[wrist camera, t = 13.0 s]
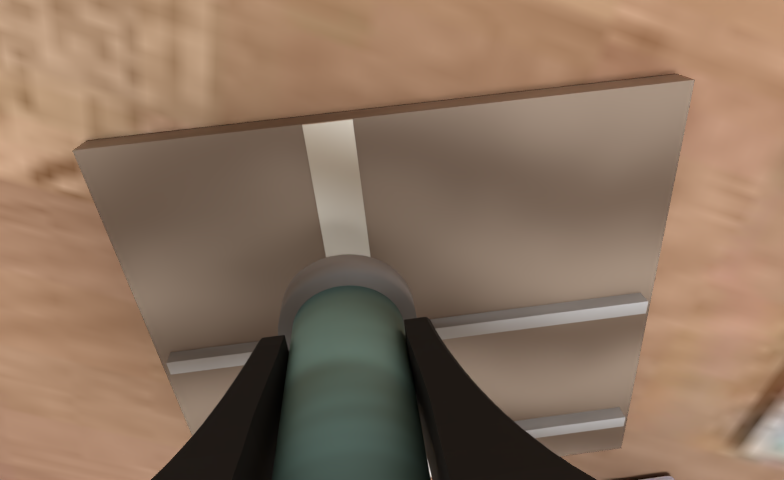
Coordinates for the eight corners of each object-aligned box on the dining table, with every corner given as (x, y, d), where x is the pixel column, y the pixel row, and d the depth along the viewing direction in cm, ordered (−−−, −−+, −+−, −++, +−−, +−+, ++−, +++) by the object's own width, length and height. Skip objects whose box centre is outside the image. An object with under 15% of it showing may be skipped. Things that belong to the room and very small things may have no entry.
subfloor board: (611, 431, 26) (627, 458, 24) (224, 484, 25) (218, 514, 24) (676, 73, 17) (706, 83, 16) (86, 140, 16) (63, 156, 15)
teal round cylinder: (417, 352, 16) (463, 584, 10) (294, 368, 16) (266, 613, 10) (408, 246, 14) (458, 455, 8) (268, 263, 14) (214, 488, 8)
